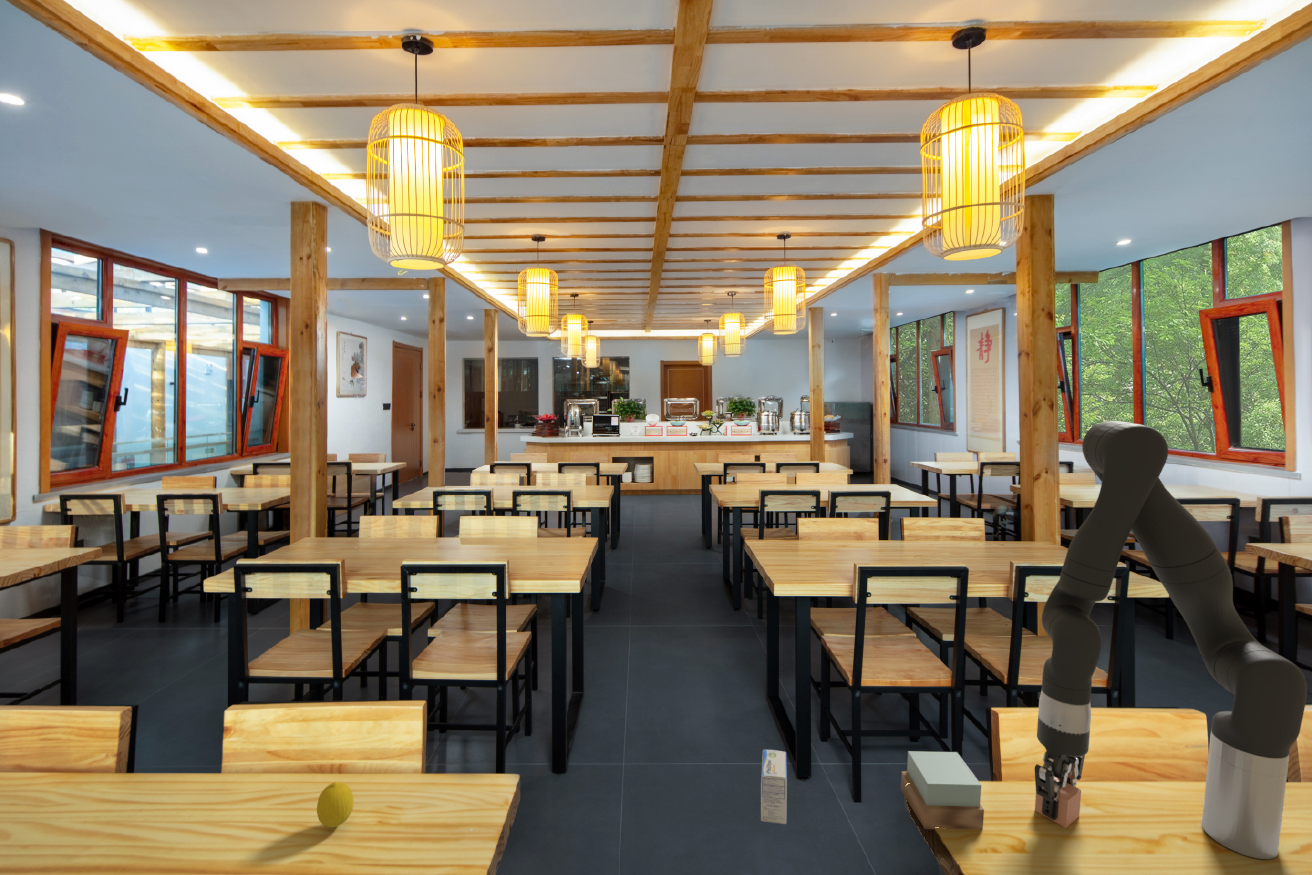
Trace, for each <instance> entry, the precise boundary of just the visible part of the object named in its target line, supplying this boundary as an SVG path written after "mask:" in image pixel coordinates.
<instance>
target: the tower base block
mask: <svg viewBox="0 0 1312 875" xmlns="http://www.w3.org/2000/svg"><path fill="white" fill-rule="evenodd" d="M900 776H901V778H900V790H901V792H902V794H903V795H904V797H905V799H906V800H907V803H908V804H909V805H910V807H911V809H912V811H913V813H914V814H915V816H916V817H917V819H918V821H919V822H920V824H921V825H922V827H923V829H924V830H936V829H935V827H939V828H946V829H945V830H983V829H984V816H985V815H984V814H985V813H984V812H985V809H984V808H983V806H982V804H980V807H967V806H927V805H926V803H925V801H924V800H923V798H922V796H921V795H920V793H919V791H918V789H917V788H916V786H915V784H914V782H913V781H912V779H911V777H910V775H909V774H908V772H907V770H905V771H904V770H903V771H901V774H900ZM907 783H910V784H908V785H907V786H906V789H905V785H906V784H907Z"/></svg>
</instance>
